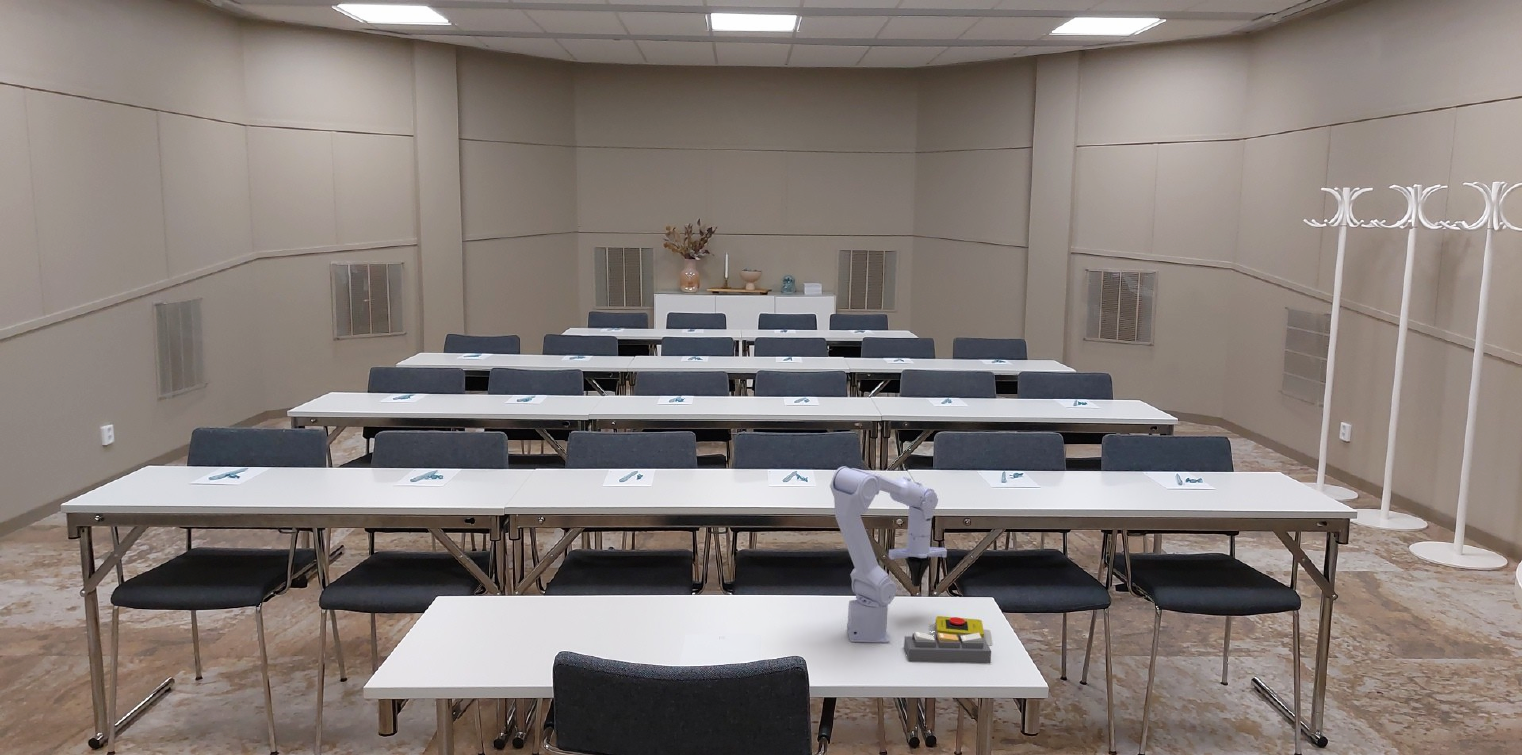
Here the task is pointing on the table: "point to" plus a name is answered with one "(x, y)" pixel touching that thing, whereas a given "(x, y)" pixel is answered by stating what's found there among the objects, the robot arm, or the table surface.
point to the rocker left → (923, 637)
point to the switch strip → (946, 650)
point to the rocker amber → (947, 637)
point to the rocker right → (971, 638)
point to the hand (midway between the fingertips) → (915, 584)
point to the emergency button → (960, 627)
